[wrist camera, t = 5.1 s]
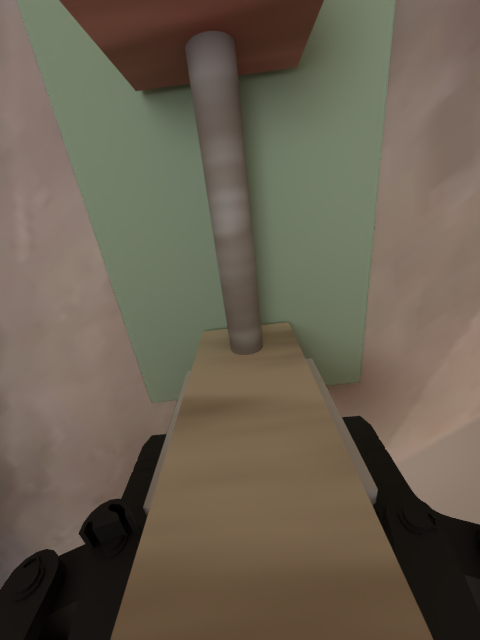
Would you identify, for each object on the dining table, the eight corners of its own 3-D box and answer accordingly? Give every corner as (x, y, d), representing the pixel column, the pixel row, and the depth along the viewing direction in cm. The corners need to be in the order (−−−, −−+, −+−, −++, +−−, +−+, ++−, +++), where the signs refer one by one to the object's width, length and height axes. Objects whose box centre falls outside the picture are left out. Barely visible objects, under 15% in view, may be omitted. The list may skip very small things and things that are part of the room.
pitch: (357, 379, 16) (359, 382, 16) (152, 399, 17) (151, 402, 17) (507, -1296, 4) (528, -1415, 4) (-306, -990, 4) (-342, -1069, 4)
